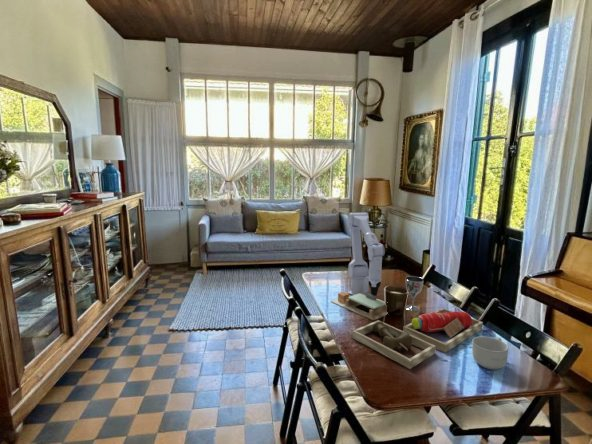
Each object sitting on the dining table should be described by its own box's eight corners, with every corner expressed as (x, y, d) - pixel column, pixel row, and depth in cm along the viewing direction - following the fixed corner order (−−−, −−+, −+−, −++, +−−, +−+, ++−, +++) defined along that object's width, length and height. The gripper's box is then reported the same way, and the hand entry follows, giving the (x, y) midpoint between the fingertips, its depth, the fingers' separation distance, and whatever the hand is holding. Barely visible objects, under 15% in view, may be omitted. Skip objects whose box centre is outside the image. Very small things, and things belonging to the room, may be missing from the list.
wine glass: (403, 310, 159) (405, 280, 156) (404, 304, 166) (406, 275, 164) (420, 313, 156) (423, 282, 153) (421, 306, 163) (423, 277, 161)
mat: (344, 297, 174) (344, 296, 174) (356, 302, 167) (356, 301, 167) (330, 301, 168) (330, 300, 167) (342, 307, 161) (342, 306, 161)
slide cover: (359, 294, 166) (359, 289, 165) (385, 304, 154) (385, 299, 153) (348, 298, 161) (348, 293, 160) (373, 309, 148) (374, 303, 148)
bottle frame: (441, 314, 155) (442, 307, 154) (482, 328, 141) (483, 322, 140) (402, 333, 136) (403, 326, 135) (445, 352, 122) (445, 345, 121)
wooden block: (343, 299, 170) (343, 291, 169) (349, 301, 167) (349, 293, 166) (337, 300, 168) (338, 293, 167) (343, 303, 165) (343, 295, 164)
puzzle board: (370, 297, 173) (370, 290, 173) (399, 309, 159) (400, 301, 159) (343, 307, 161) (344, 299, 161) (373, 320, 147) (373, 311, 147)
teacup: (493, 377, 108) (496, 354, 107) (463, 360, 117) (465, 339, 116) (518, 365, 114) (520, 344, 113) (487, 350, 124) (490, 330, 122)
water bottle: (482, 322, 132) (424, 326, 128) (477, 339, 134) (421, 343, 130) (463, 305, 143) (409, 308, 139) (459, 321, 146) (406, 324, 142)
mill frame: (377, 326, 142) (378, 320, 141) (435, 353, 121) (435, 345, 121) (352, 337, 132) (352, 330, 131) (409, 369, 112) (410, 360, 111)
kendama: (387, 331, 139) (418, 355, 120) (367, 335, 136) (396, 360, 117) (387, 317, 138) (419, 340, 119) (367, 321, 135) (396, 344, 116)
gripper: (368, 264, 166) (366, 290, 168) (365, 272, 152) (364, 300, 154) (382, 265, 164) (381, 291, 166) (381, 274, 150) (379, 302, 152)
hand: (374, 296), depth 160 cm, fingers closed
